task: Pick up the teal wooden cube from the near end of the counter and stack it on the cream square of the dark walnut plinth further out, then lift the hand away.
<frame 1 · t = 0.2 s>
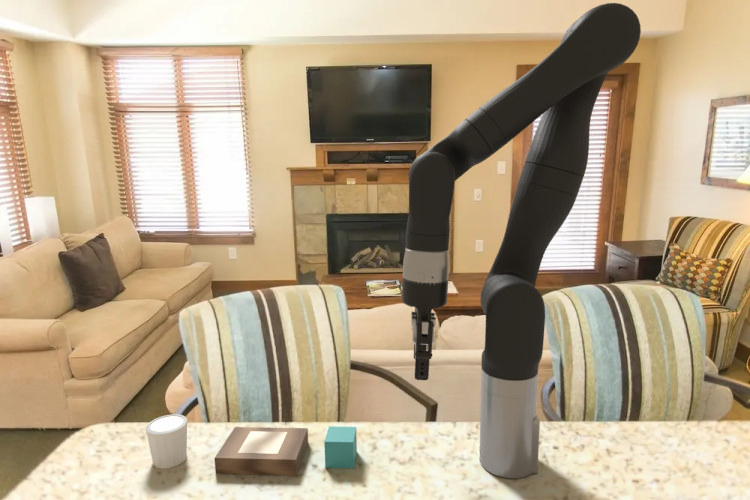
hand: (420, 368, 82), 17 cm above the kitchen counter, tool pointing down, fingers open, 8 cm apart
walnut plinth: (264, 457, 87), on the kitchen counter
white tapered cup: (170, 460, 87), on the kitchen counter
teal cube: (341, 459, 86), on the kitchen counter
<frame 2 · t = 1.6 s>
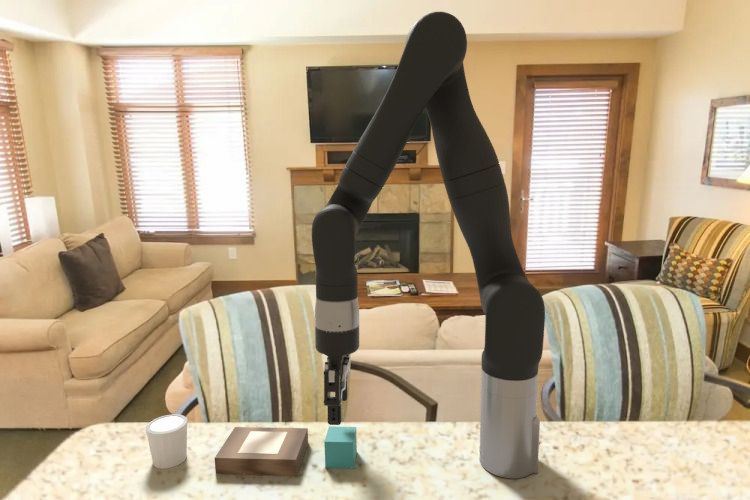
hand: (338, 411, 84), 9 cm above the kitchen counter, tool pointing down, fingers open, 8 cm apart
nothing on the kitchen counter moved.
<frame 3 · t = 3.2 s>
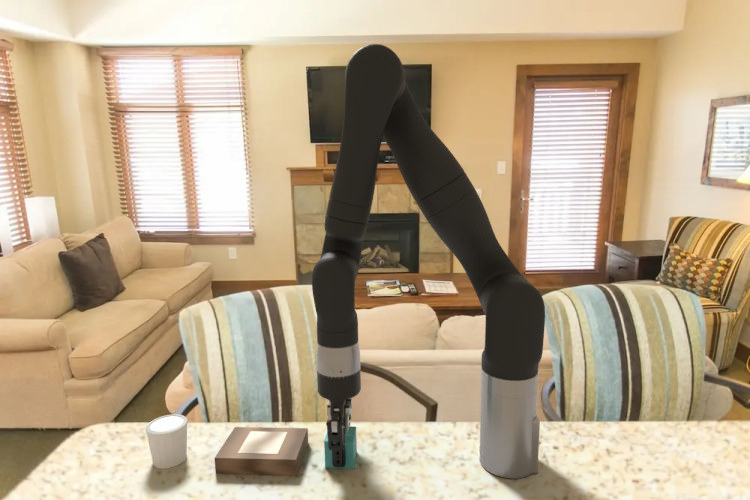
hand: (341, 456, 86), 1 cm above the kitchen counter, tool pointing down, fingers closed on teal cube, 5 cm apart
teal cube: (341, 459, 86), on the kitchen counter, touching gripper
everything else where it was.
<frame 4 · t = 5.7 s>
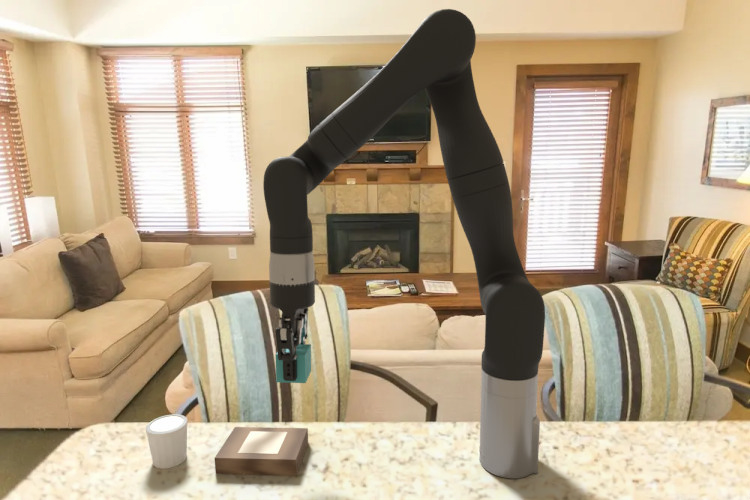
hand: (294, 372, 84), 16 cm above the kitchen counter, tool pointing down, fingers closed on teal cube, 5 cm apart
teal cube: (294, 376, 84), point 16 cm above the kitchen counter, touching gripper
everything else where it was.
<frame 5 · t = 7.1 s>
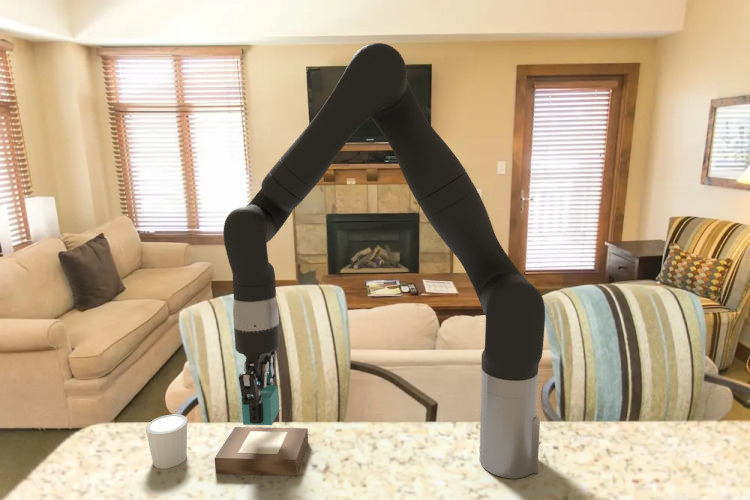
hand: (261, 414, 85), 8 cm above the kitchen counter, tool pointing down, fingers closed on teal cube, 5 cm apart
teal cube: (261, 417, 85), point 8 cm above the kitchen counter, touching gripper
everything else where it was.
when the fingers open (5 cm above the kitchen counter, at t = 8.2 s): teal cube drops 1 cm, resting on walnut plinth.
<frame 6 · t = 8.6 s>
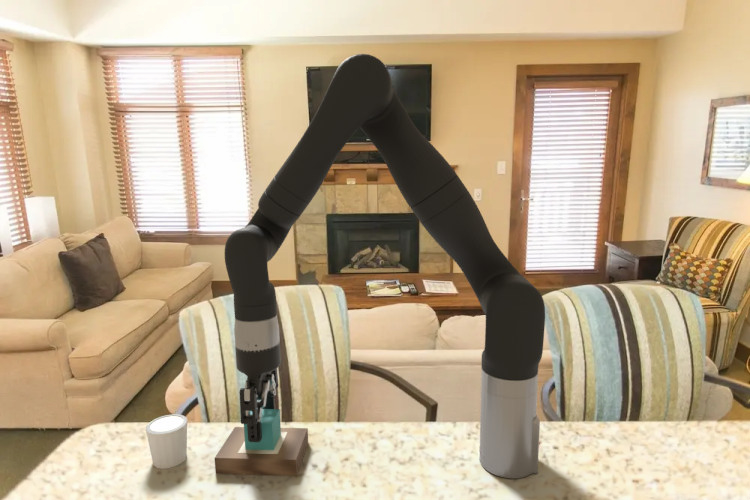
hand: (262, 427, 86), 6 cm above the kitchen counter, tool pointing down, fingers open, 8 cm apart
teal cube: (263, 441, 86), point 3 cm above the kitchen counter, touching walnut plinth
everything else where it was.
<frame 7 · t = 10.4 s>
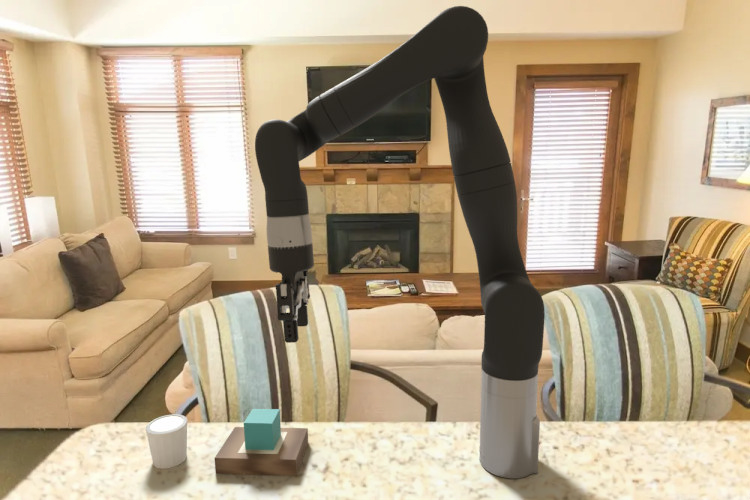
hand: (297, 333, 84), 23 cm above the kitchen counter, tool pointing down, fingers open, 8 cm apart
nothing on the kitchen counter moved.
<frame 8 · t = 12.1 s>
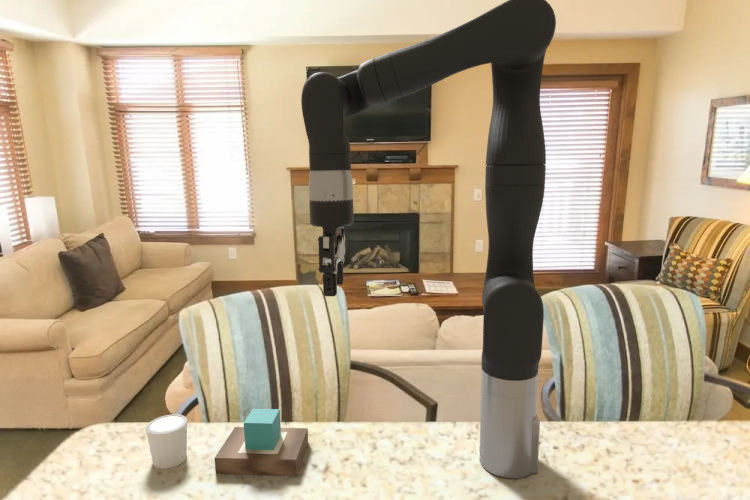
hand: (334, 289, 85), 30 cm above the kitchen counter, tool pointing down, fingers open, 8 cm apart
nothing on the kitchen counter moved.
at the end: teal cube 0.1 cm off-centre on the walnut plinth, point 3.0 cm above the walnut plinth's base; teal cube tilted 0°; the gripper is holding nothing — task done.
